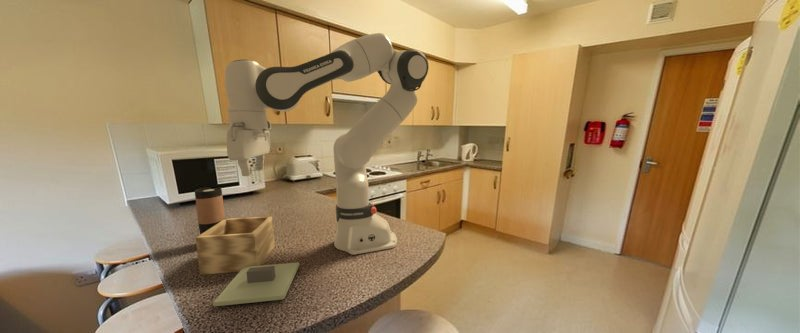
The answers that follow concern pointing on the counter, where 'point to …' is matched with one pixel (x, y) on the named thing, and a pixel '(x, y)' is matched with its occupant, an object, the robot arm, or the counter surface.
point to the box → (235, 244)
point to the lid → (258, 284)
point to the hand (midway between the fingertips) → (253, 172)
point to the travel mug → (209, 207)
